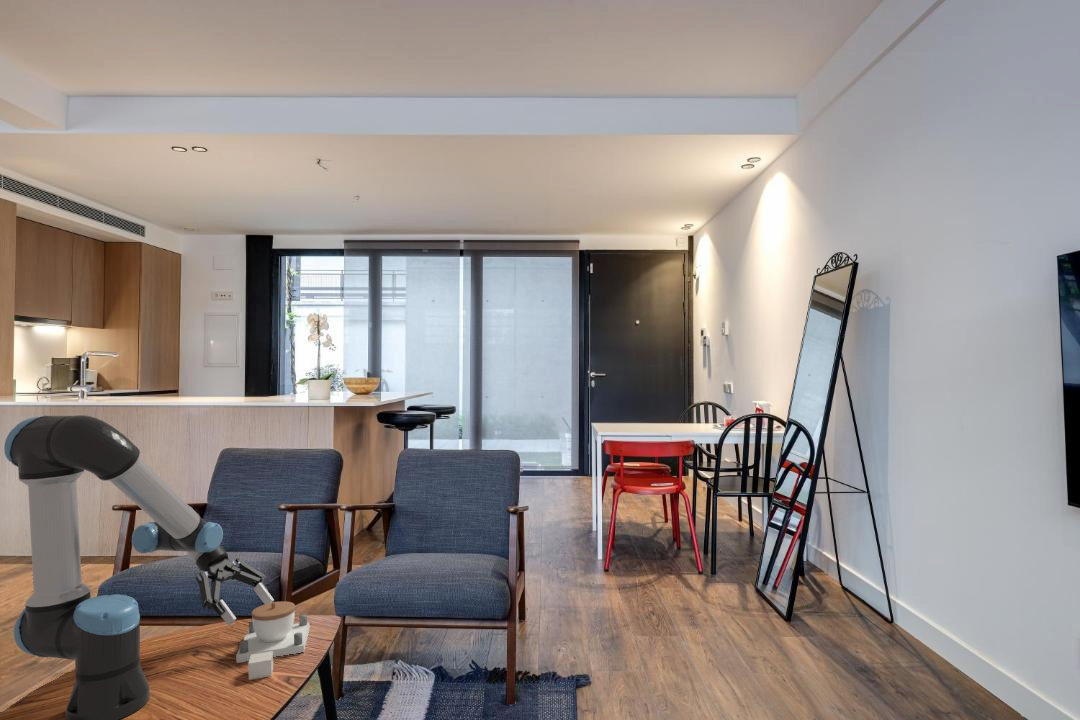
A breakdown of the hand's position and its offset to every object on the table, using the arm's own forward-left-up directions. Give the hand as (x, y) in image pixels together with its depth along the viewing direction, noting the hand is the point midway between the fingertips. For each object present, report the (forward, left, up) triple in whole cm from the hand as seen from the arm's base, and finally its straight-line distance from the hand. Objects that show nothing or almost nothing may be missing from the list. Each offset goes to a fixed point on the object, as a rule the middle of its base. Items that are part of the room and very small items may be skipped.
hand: (252, 612), depth 166 cm
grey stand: (+6, -3, -8) cm, 11 cm away
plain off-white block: (+5, -19, -8) cm, 22 cm away
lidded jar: (+6, -3, -6) cm, 9 cm away
